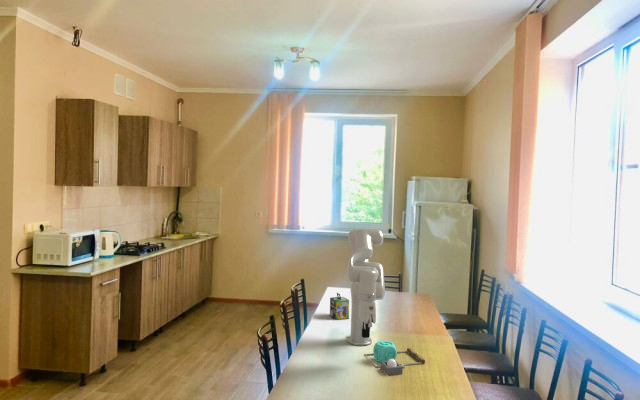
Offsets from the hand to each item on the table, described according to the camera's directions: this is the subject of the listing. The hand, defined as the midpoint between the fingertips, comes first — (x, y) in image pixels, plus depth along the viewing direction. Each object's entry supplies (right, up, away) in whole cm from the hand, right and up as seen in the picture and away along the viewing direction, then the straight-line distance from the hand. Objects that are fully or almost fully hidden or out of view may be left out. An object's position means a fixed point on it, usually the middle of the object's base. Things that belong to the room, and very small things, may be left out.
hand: (365, 337), depth 202 cm
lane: (+14, -12, +5) cm, 19 cm away
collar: (+11, -13, -8) cm, 18 cm away
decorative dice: (+9, -12, +4) cm, 16 cm away
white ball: (+11, -12, -8) cm, 17 cm away
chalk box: (-9, -9, +67) cm, 69 cm away
